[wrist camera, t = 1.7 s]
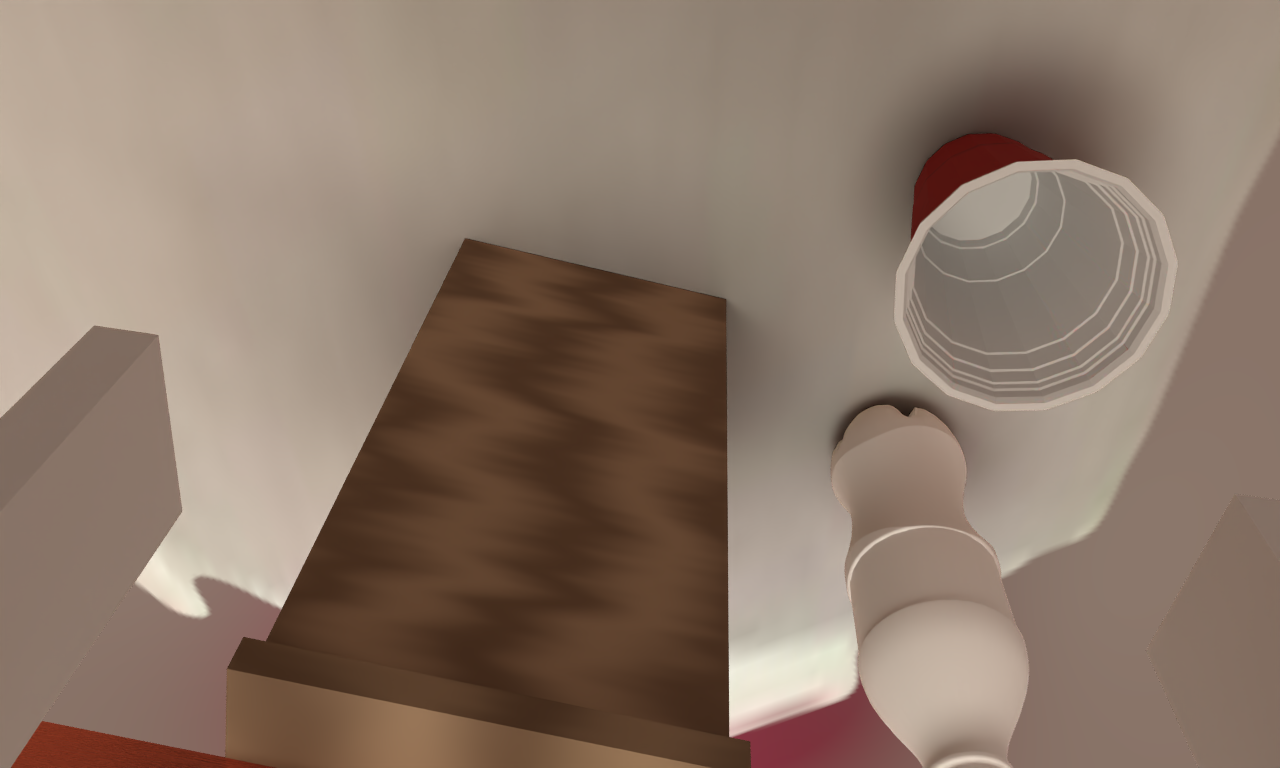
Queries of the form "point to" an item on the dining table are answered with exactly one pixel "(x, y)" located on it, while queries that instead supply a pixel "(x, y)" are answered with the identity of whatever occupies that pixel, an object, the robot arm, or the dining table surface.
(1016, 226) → the plastic cup
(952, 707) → the water bottle
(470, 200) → the dining table surface
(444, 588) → the stand
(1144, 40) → the dining table surface
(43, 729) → the lever
